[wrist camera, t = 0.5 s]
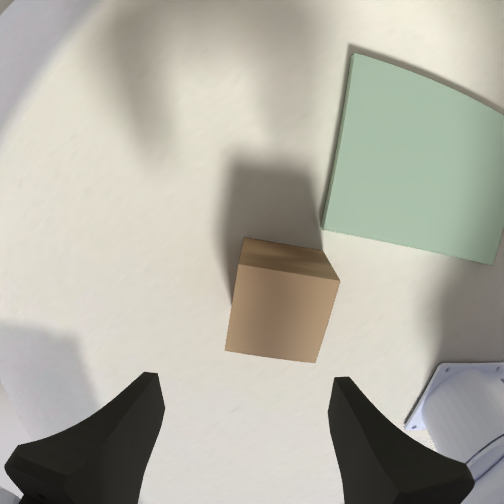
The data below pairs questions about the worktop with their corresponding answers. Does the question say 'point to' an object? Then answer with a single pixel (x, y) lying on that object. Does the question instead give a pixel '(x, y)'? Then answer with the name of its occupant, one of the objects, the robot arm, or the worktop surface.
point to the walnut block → (281, 301)
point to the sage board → (417, 165)
